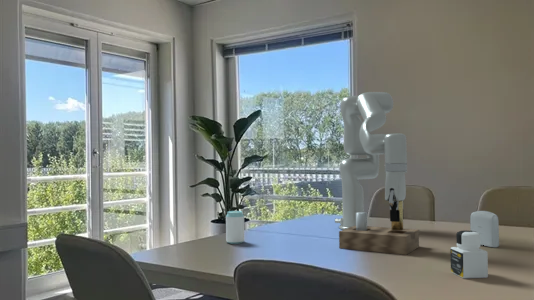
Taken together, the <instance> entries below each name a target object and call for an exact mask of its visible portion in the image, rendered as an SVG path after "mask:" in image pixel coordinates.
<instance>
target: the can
mask: <svg viewBox="0 0 534 300" xmlns="http://www.w3.org/2000/svg"><path fill="white" fill-rule="evenodd" d="M226 213H227V214H226V215H225V241H226V242H227V243H228V244H231V245H235V244H236V245H237V244H242V243H243V242H245V215H244V213H243V211H241V210H229V211H227V212H226Z"/></svg>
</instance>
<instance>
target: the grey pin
mask: <svg viewBox="0 0 534 300" xmlns="http://www.w3.org/2000/svg"><path fill="white" fill-rule="evenodd" d="M367 226H368V212H365V211H364V212H357V213H356V230H360V231H367Z"/></svg>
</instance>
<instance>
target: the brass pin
mask: <svg viewBox="0 0 534 300" xmlns="http://www.w3.org/2000/svg"><path fill="white" fill-rule="evenodd" d="M395 204H396V203H395ZM398 210H400V221H399V222H392V221H390V222H391V223H390V224H391V226H390V228H391V229H392V230H403V229H404V219H403V213H404V200H403V201H399V209H398Z"/></svg>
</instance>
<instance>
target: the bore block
mask: <svg viewBox="0 0 534 300" xmlns="http://www.w3.org/2000/svg"><path fill="white" fill-rule="evenodd" d="M338 240H339V241H338V243H339V246H338V247H339V249H343V248H344V249H345V250H355V251H367V252H375V253H383V254H384V253H385V254H397V255H406V256H407V255H408V254H410V253H412V252H413V251H415V250H416V249H418V248H420V230H419V229H412V228H411V229H410V228H403V230H392V229H391V227H383V226H369V225H367V231H360V230H356V225H355V226H352V227H350V228H347V229H344V230H343V229H341V230H339V231H338Z"/></svg>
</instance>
